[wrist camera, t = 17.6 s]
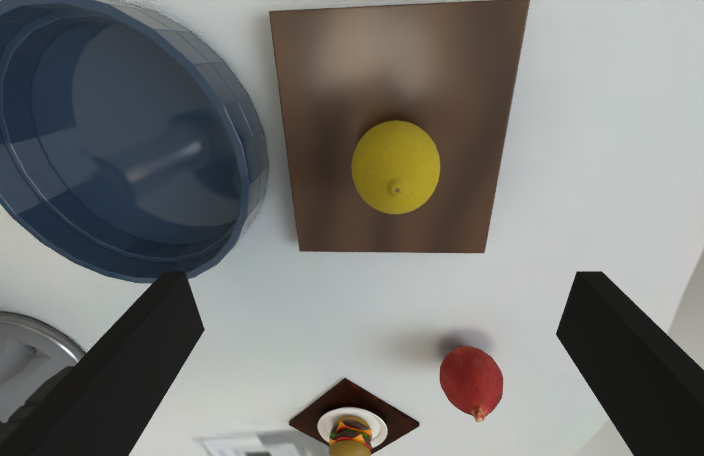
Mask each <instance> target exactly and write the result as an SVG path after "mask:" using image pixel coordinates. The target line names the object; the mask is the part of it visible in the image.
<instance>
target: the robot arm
mask: <svg viewBox="0 0 704 456" xmlns="http://www.w3.org/2000/svg"><path fill="white" fill-rule="evenodd" d="M203 331H204V327H203V324H202V321H201V318H200V315H199V312H198V309H197V306H196V303H195V300H194V297H193V294H192V291H191V288H190V285H189V282H188V279H187V276H186V273H185V271H164V272H163V273H162V274H161V275H160V276H159V277H158V278H157V279H156V280H155V282H154V283H153V284H152V285H151V286H150V287H149V288H148V289H147V290H146V291H145V292H144V293H143V294H142V295H141V296H140V297H139V298H138V299H137V301H136V302H135V303H134V304H133V305H132V306H131V307H130V308H129V309H128V310H127V311H126V312H125V313H124V314H123V315H122V316H121V317H120V318H119V320H118V321H117V322H116V323H115V324H114V325H113V326H112V327H111V328H110V329H109V330H108V331H107V332H106V333H105V334H104V335H103V336H102V337H101V339H100V340H99V341H98V342H97V343H96V344H95V345H94V346H93V347H92V348H91V349H90V350H89V351H88V352H87V353H86V354H84V353H83V352H82V350H81V349H80V348H79V347H78V346H77V345H76V344H74V343H73V342H72V341H71V340H70V339H68V338H67V337H66V336H64V335H63V334H61V333H60V332H58V331H57V330H55V329H53V328H51V327H50V326H48V325H46V324H43V323H41V322H39V321H36V320H34V319H31V318H28V317H25V316H21V315H16V314H11V313H1V312H0V456H128V455H129V454H130V452H131V451H132V449H133V447H134V446H135V444H136V442H137V441H138V439H139V437H140V436H141V434H142V432H143V431H144V429H145V427H146V426H147V424H148V422H149V421H150V419H151V417H152V416H153V414H154V412H155V411H156V409H157V408H158V406H159V404H160V403H161V401H162V399H163V398H164V396H165V394H166V393H167V391H168V389H169V388H170V386H171V384H172V383H173V381H174V379H175V378H176V376H177V374H178V373H179V371H180V370H181V368H182V366H183V365H184V363H185V361H186V360H187V358H188V356H189V355H190V353H191V351H192V350H193V348H194V346H195V345H196V343H197V341H198V340H199V338H200V336H201V335H202V333H203ZM556 335H557V337H558V338H559V340H560V341H561V343H562V345H563V346H564V348H565V349H566V351H567V352H568V354H569V355H570V357H571V359H572V360H573V362H574V363H575V365H576V366H577V368H578V369H579V371H580V373H581V374H582V376H583V377H584V379H585V380H586V382H587V383H588V385H589V387H590V388H591V390H592V391H593V393H594V394H595V396H596V397H597V399H598V401H599V402H600V404H601V405H602V407H603V408H604V410H605V411H606V413H607V415H608V416H609V418H610V419H611V421H612V422H613V424H614V425H615V427H616V429H617V430H618V432H619V433H620V435H621V436H622V438H623V440H624V441H625V443H626V444H627V446H628V447H629V449H630V450H631V452H632V453H633V455H634V456H704V370H703V369H702V368H701V367H700V366H699V365H698V364H697V363H696V362H694V360H693V359H691V358H690V357H689V356H688V355H687V354H686V353H685V352H684V351H683V350H682V349H681V348H680V347H679V346H678V345H677V344H676V343H675V342H674V341H673V340H672V339H671V338H670V337H669V336H668V335H667V334H666V333H665V332H664V331H663V330H662V329H661V328H660V327H659V326H657V325H656V324H655V323H654V322H653V321H652V320H651V319H650V318H649V317H648V316H647V315H646V314H645V313H644V312H643V311H642V310H641V309H640V308H639V307H638V306H637V305H636V304H635V303H634V302H633V301H632V300H631V299H630V298H629V297H628V296H627V295H625V294H624V293H623V292H622V291H621V290H620V289H619V288H618V287H617V286H616V285H615V284H614V283H613V282H612V281H611V280H610V279H609V278H608V277H607V276H606V275H605V274H604V273H603V272H577V273H576V276H575V279H574V282H573V285H572V288H571V291H570V294H569V297H568V300H567V303H566V306H565V309H564V312H563V315H562V318H561V321H560V324H559V327H558V330H557V333H556Z"/></svg>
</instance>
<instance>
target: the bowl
mask: <svg viewBox="0 0 704 456" xmlns="http://www.w3.org/2000/svg"><path fill="white" fill-rule="evenodd" d="M268 164H269V163H268V157H267V150H266V144H265V137H264V132H263V129H262V127H261V124H260V122H259V119H258V117H257V115H256V112H255V110H254V107H253V105H252V102H251V100H250V98H249V97H248V94H247V93H246V91H245V90H244V88H243V87H242V85H241V84H240V83H239V81H238V80H237V78H236V77H235V76H234V74H233V73H232V71H231V70H230V68H229V67H228V66H227V64H226V63H225V62H224V61H223V60H222V59H221V58H220V57H219V56H218V55H217V54H216V53H215V52H214V51H212V50H211V49H210V48H209V47H208V46H207V45H206V44H205V43H204V42H203V41H202V40H200V39H199V38H198V37H197V36H196V35H195V34H194V33H192V32H191V31H189V30H187V29H186V28H184V27H182V26H180V25H179V24H177V23H175V22H173V21H172V20H170V19H168V18H166V17H164V16H163V15H161V14H159V13H157V12H155V11H152V10H149V9H145V8H141V7H137V6H133V5H129V4H126V3H122V2H118V1H113V0H1V1H0V204H1V205H2V206H3V208H4V209H5V210H6V211H7V212H8V213H9V215H10V216H11V217H12V218H13V219H14V220H15V221H17V222H18V223H19V224H20V225H21V226H22V227H24V228H25V229H26V230H27V231H28V232H29V233H31V234H32V235H33V236H34V237H35V238H36V239H38V240H39V241H40V242H42V243H43V244H44V245H46V246H47V247H49V248H51V249H52V250H54V251H55V252H57V253H59V254H60V255H62V256H63V257H65V258H67V259H68V260H70V261H72V262H74V263H76V264H78V265H80V266H83V267H85V268H88V269H90V270H92V271H95V272H97V273H99V274H102V275H104V276H108V277H112V278H116V279H121V280H125V281H130V282H134V283H154V282H155V280H156V279H157V278H158V277H159V276H160V275H161V274H162V273H163V272H164V271H185V273H186V276H187V279H189V278H194V277H196V276H198V275H199V274H201V273H203V272H205V271H207V270H208V269H210V268H212V267H214V266H215V265H217V264H218V263H219V262H220V261H221V260H222V259H223V258H224V257H225V256H226V254H227V253H228V252H229V251H230V250H231V249H232V248H233V247H234V246H235V245H236V243H237V242H238V240H239V239H240V238H241V236H242V235H243V234H244V232H245V231H246V230H247V228H248V227H249V225H250V224H251V223H252V221H253V220H254V219H255V217H256V215H257V212H258V210H259V208H260V205H261V203H262V201H263V199H264V196H265V193H266V184H267V176H268V167H269V165H268Z"/></svg>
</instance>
